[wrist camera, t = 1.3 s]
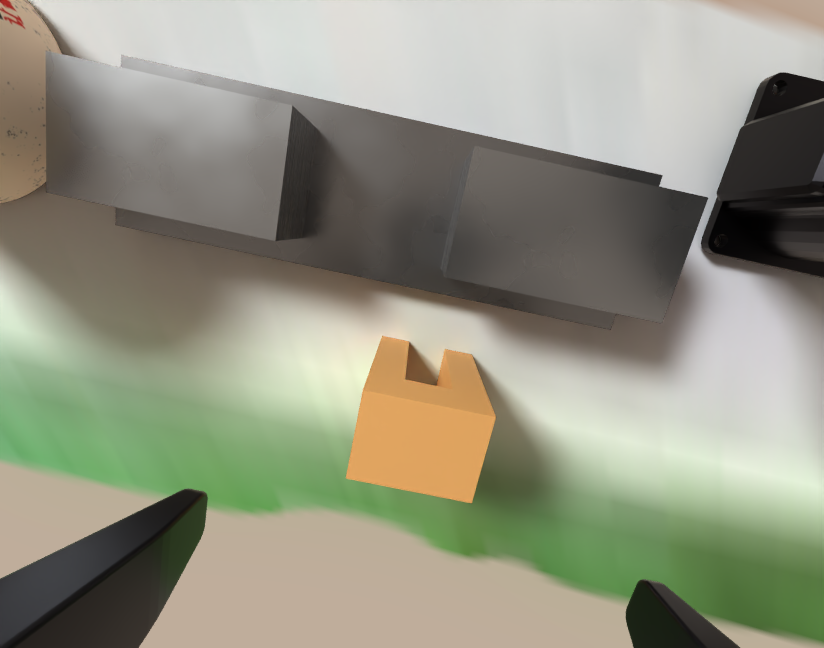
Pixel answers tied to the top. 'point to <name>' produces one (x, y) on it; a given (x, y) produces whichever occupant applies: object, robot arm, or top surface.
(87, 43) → the top surface
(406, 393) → the clip
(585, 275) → the rail
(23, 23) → the teacup with lid
